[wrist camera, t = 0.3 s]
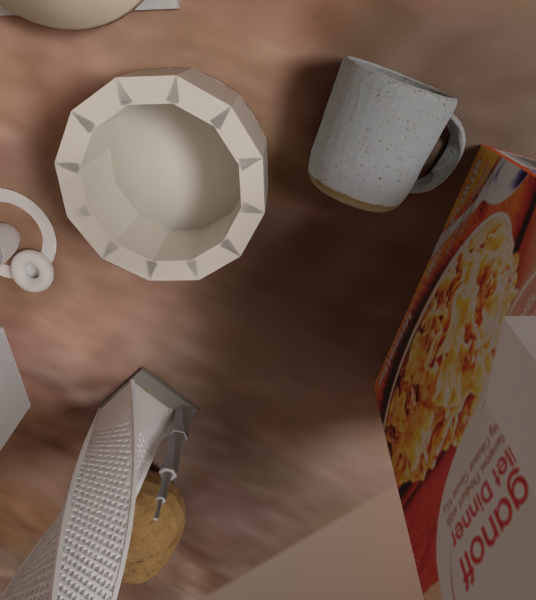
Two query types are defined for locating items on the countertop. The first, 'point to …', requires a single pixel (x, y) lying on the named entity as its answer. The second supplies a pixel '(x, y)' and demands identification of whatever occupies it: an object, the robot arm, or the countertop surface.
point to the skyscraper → (106, 494)
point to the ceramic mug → (382, 137)
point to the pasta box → (465, 393)
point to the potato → (153, 530)
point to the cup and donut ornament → (27, 263)
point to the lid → (71, 12)
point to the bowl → (164, 173)
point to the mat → (151, 2)
